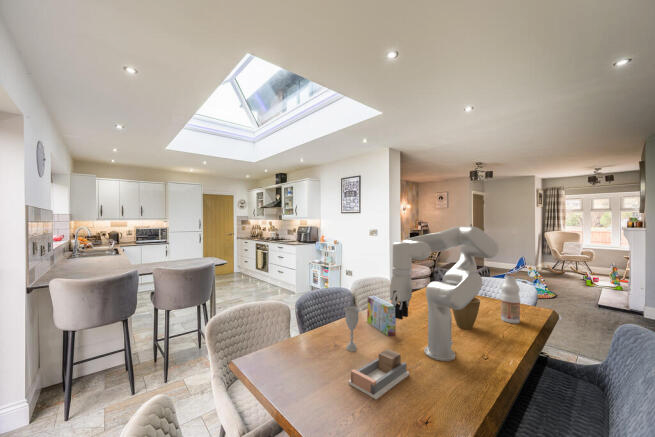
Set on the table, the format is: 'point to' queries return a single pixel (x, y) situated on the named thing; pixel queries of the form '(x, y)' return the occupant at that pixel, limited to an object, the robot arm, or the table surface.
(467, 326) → the plant pot
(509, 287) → the white plastic bottle
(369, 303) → the snack box
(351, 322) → the chalice
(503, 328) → the table surface
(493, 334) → the table surface
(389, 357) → the walnut block
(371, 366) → the chute
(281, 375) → the table surface
